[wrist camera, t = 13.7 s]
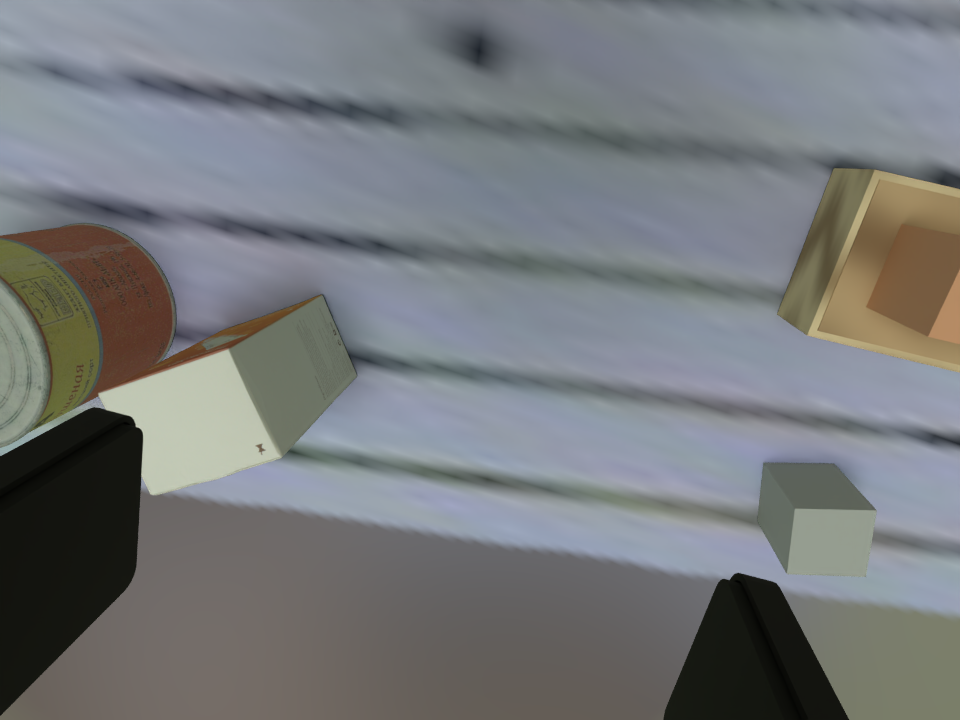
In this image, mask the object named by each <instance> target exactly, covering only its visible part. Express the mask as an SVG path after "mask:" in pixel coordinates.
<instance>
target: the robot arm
mask: <svg viewBox="0 0 960 720" xmlns="http://www.w3.org/2000/svg"><path fill="white" fill-rule="evenodd" d="M142 454H143V432H142V430H141V429H140V428H138V427H136V424H135V421H134V419H133V418H132V417H131V416H128V415H124V414H120V413H116V412H112V411H108V410H105V409H101V408H95V407H93V408H90V409H88V410H86V411H84V412H82V413H80V414H78V415H76V416H75V417H73V418H71V419H69V420H67V421H65V422H63V423H62V424H60V425H58V426H56V427H54V428H52V429H50V430H49V431H47V432H45V433H43V434H41V435H39V436H37V437H36V438H34V439H32V440H30V441H28V442H26V443H24V444H23V445H21V446H19V447H17V448H15V449H13V450H11V451H9V452H8V453H6V454H4V455H2V456H0V715H2V714H3V712H4V711H5V710H6V709H8V708H9V707H10V706H11V704H13V703H14V701H15V700H16V699H17V698H18V697H19V696H20V695H21V694H22V693H23V692H24V691H25V690H26V689H27V688H28V687H29V686H30V685H31V684H32V683H33V682H34V681H35V680H36V679H37V678H38V677H39V676H40V675H41V674H42V673H43V672H44V671H45V670H46V669H47V668H48V667H49V666H50V665H51V664H52V663H53V662H54V661H55V660H56V659H57V658H58V657H59V656H60V655H61V654H62V653H63V652H64V651H65V650H66V649H67V648H68V647H69V646H70V645H71V644H72V643H73V642H74V641H75V640H76V639H77V638H78V637H79V636H80V635H81V634H82V633H83V632H84V631H85V630H86V629H87V628H88V627H89V626H90V625H91V624H92V623H93V622H94V621H95V620H96V619H97V618H98V617H99V616H100V615H101V614H102V613H103V612H104V611H105V610H106V609H107V608H108V607H109V606H110V605H111V604H112V603H113V602H114V601H115V600H116V599H117V598H118V597H119V596H120V595H121V594H122V593H123V592H124V591H125V590H126V588H127V587H128V586H129V584H130V582H131V581H132V578H133V576H134V573H135V570H136V562H137V544H138V526H139V508H140V490H141V472H142ZM664 720H849V719H848V717H847V715H846V713H845V711H844V709H843V707H842V706H841V703H840V701H839V700H838V698H837V696H836V694H835V692H834V690H833V688H832V686H831V684H830V683H829V680H828V679H827V677H826V675H825V673H824V671H823V669H822V667H821V665H820V663H819V661H818V660H817V658H816V656H815V654H814V652H813V650H812V648H811V646H810V644H809V643H808V641H807V639H806V637H805V635H804V633H803V631H802V629H801V627H800V625H799V623H798V622H797V620H796V618H795V616H794V614H793V612H792V610H791V608H790V606H789V604H788V602H787V600H786V599H785V597H784V595H783V593H782V591H781V589H780V587H779V586H778V585H777V583H774V582H772V581H768V580H764V579H760V578H756V577H752V576H749V575H745V574H741V573H737V574H734V575H733V576H732V577H731V579H730V580H726V579H722V580H720V582H719V583H718V584H717V586H716V589H715V591H714V593H713V596H712V598H711V601H710V603H709V605H708V608H707V610H706V613H705V615H704V618H703V620H702V622H701V625H700V627H699V630H698V632H697V634H696V637H695V639H694V642H693V644H692V646H691V649H690V651H689V654H688V656H687V659H686V661H685V664H684V666H683V668H682V671H681V673H680V675H679V678H678V680H677V683H676V685H675V687H674V690H673V692H672V695H671V697H670V700H669V702H668V705H667V707H666V710H665V714H664Z"/></svg>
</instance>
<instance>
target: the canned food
mask: <svg viewBox="0 0 960 720" xmlns="http://www.w3.org/2000/svg"><path fill="white" fill-rule="evenodd" d="M175 329H176V308H175V302H174V298H173V294H172V291H171V288H170V285H169V283H168V281H167V279H166V277H165V275H164V273H163V272H162V270H161V268H160V267H159V265H158V264H157V263H156V261H155V260H154V259H153V258H152V256H151V255H150V254H149V253H148V252H147V251H146V250H145V249H144V248H143V247H142V246H140V245H139V244H138V243H137V242H135V241H134V240H133V239H131V238H130V237H128V236H126V235H125V234H123V233H121V232H119V231H117V230H114V229H112V228H109V227H106V226H102V225H97V224H89V223H78V224H71V225H66V226H63V227H60V228H53V229H46V230H39V231H31V232H24V233H17V234H10V235H3V236H0V448H1V447H4V446H7V445H9V444H11V443H13V442H15V441H17V440H19V439H20V438H22V437H23V436H25V435H26V434H27V433H29V432H31V431H32V430H34V429H36V428H38V427H40V426H42V425H44V424H46V423H48V422H50V421H52V420H54V419H56V418H57V417H59V416H61V415H63V414H65V413H67V412H69V411H71V410H73V409H75V408H77V407H79V406H81V405H82V404H84V403H86V402H88V401H90V400H92V399H94V398H96V397H98V396H99V395H98V393H99V392H101V391H103V390H105V389H107V388H109V387H112V386H114V385H116V384H118V383H120V382H121V381H123V380H126V379H128V378H130V377H132V376H134V375H136V374H138V373H140V372H142V371H143V370H145V369H147V368H149V367H151V366H153V365H155V364H157V363H159V362H161V361H162V359H163V358H164V357H165V355H166V354H167V352H168V351H169V348H170V346H171V344H172V341H173V338H174V334H175Z"/></svg>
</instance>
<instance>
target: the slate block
mask: <svg viewBox="0 0 960 720" xmlns="http://www.w3.org/2000/svg"><path fill="white" fill-rule="evenodd" d="M876 512H877V510H876V509H875V508H874V507H873V506H872V505H871V504H870V503H869V501H868V500H867V499H866V498H865V497H864V496H863V495H862V494H861V493H860V492H859V491H858V489H857V488H856V487H855V486H854V485H853V484H852V483H851V482H850V481H849V480H848V478H847V477H846V476H845V475H844V474H843V473H842V472H841V471H840V470H839V469H838V468H837V466H836V465H835V464H829V463H763V471H762V480H761V490H760V500H759V509H758V519H757V521H758V523H759V525H760V527H761V529H762V530H763V532H764V534H765V536H766V538H767V539H768V541H769V543H770V545H771V547H772V548H773V550H774V552H775V554H776V555H777V557H778V559H779V561H780V563H781V564H782V566H783V568H784V570H785V572H786V573H787V574H799V575H828V576H856V577H866V572H867V566H868V560H869V554H870V548H871V542H872V536H873V530H874V524H875V518H876Z"/></svg>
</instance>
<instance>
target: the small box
mask: <svg viewBox="0 0 960 720" xmlns="http://www.w3.org/2000/svg"><path fill="white" fill-rule="evenodd" d="M356 377H357V374H356V372H355V370H354V367H353V365H352V362H351V360H350V358H349V355H348V353H347V351H346V349H345V346H344V344H343V342H342V339H341V337H340V335H339V332H338V330H337V328H336V325H335V323H334V321H333V318H332V316H331V314H330V312H329V309H328V307H327V305H326V302H325V300H324V297H323V295H318V296H316V297H314V298H311V299H309V300H307V301H304V302H301V303H299V304H296V305H293V306H291V307H288V308H285V309H282V310H279V311H277V312H274V313H271V314H269V315H266V316H263V317H260V318H257V319H254V320H251V321H248V322H245V323H242V324H239V325H236V326H233V327H231V328H227V329H224V330H222V331H220V332H218V333H216V334H214V335H213V336H211V337H209V338H207V339H205V340H203V341H201V342H199V343H197V344H195V345H193V346H191V347H189V348H187V349H185V350H183V351H181V352H179V353H177V354H175V355H173V356H171V357H169V358H167V359H165V360H163V361H161V362H159V363H157V364H155V365H153V366H151V367H149V368H147V369H145V370H143V371H142V372H140V373H138V374H136V375H134V376H132V377H130V378H128V379H126V380H123V381H121V382H120V383H118V384H116V385H114V386H112V387H109V388H107V389H105V390H103V391H101V392H99V393H98V395H99V397H100V399H101V401H102V403H103V405H104V407H105V409H106V410H108V411H112V412H116V413H120V414H124V415H128V416H131V417H132V418H133V419H134V421H135V424H136V427H138V428H140V429H141V430H142V432H143V454H142V472H141V476H142V478H143V480H144V482H145V484H146V486H147V488H148V490H149V492H150V494H151V495H159V494H163V493H167V492H170V491H174V490H178V489H181V488H185V487H188V486H192V485H195V484H199V483H203V482H207V481H212V480H215V479H219V478H222V477H225V476H228V475H231V474H234V473H236V472H239V471H242V470H245V469H248V468H251V467H254V466H258V465H261V464H264V463H267V462H271V461H274V460H277V459H280V458H282V457H283V456H284V455H285V454H286V452H287V451H288V450H289V449H290V448H291V447H292V446H293V445H294V444H295V443H296V442H297V441H298V440H299V438H300V437H301V436H302V435H303V434H304V433H305V432H306V431H307V430H308V429H309V428H310V427H311V425H312V424H313V423H314V422H315V421H316V420H317V419H318V418H319V417H320V416H321V415H322V414H323V412H324V411H325V410H326V409H327V408H328V407H329V406H330V405H331V404H332V402H333V401H334V400H335V399H336V398H337V397H338V396H339V395H340V394H341V393H342V392H343V391H344V390H345V389H346V388H347V387H348V386H349V385H350V383H351V382H352V381H353V380H354V379H355V378H356Z"/></svg>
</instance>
